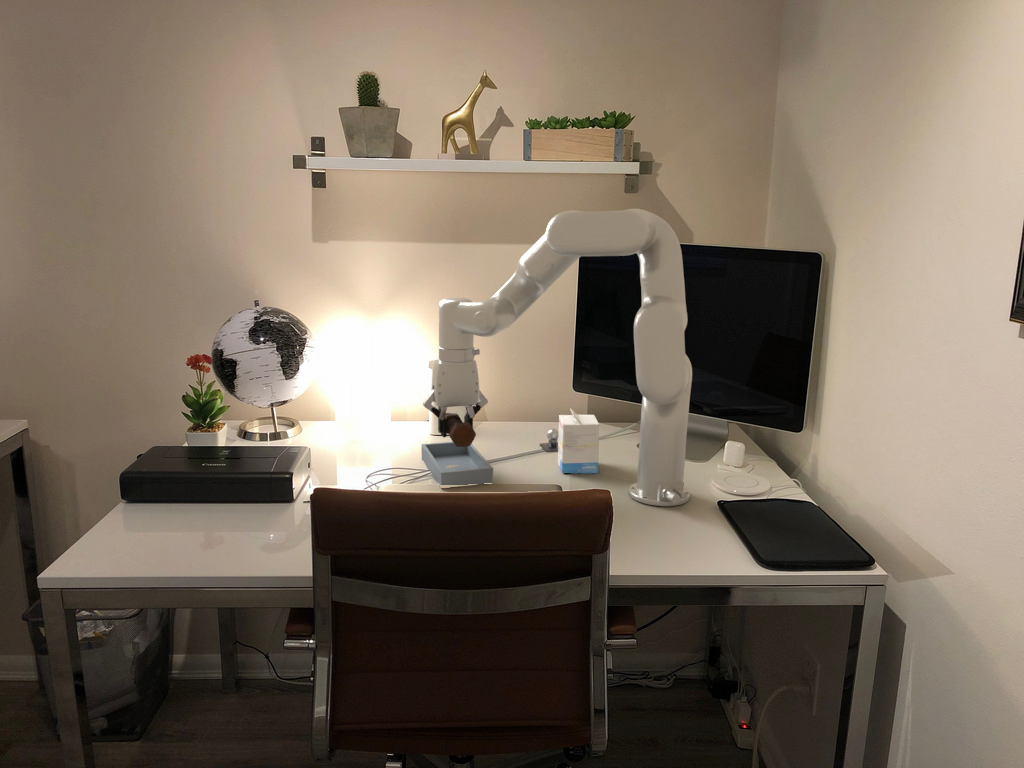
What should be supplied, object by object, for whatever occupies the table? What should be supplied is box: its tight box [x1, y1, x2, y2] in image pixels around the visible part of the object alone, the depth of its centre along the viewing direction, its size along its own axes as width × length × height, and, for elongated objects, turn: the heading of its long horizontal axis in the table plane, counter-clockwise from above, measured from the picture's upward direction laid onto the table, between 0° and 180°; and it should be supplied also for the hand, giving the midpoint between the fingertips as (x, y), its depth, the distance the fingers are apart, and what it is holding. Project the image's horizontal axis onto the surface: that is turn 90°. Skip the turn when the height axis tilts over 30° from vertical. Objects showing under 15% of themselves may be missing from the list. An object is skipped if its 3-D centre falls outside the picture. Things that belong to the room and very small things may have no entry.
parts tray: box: [421, 441, 494, 485], centre depth 187 cm, size 20×11×4 cm, turn 18°
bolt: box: [445, 412, 477, 447], centre depth 184 cm, size 6×5×15 cm
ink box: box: [557, 408, 600, 475], centre depth 189 cm, size 9×8×13 cm
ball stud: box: [539, 428, 559, 453], centre depth 204 cm, size 5×5×5 cm
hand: (455, 433), depth 185 cm, fingers closed on bolt, 4 cm apart
